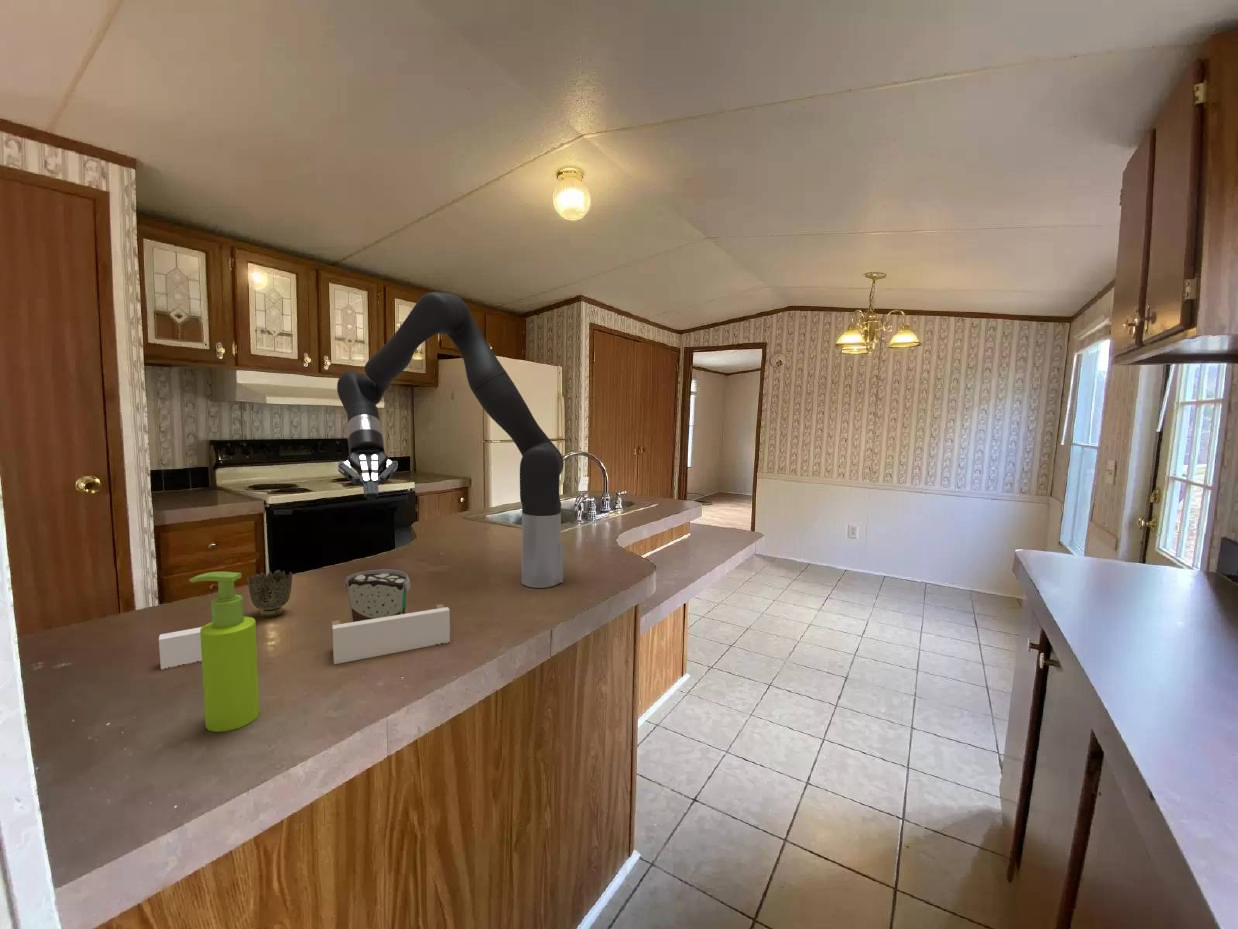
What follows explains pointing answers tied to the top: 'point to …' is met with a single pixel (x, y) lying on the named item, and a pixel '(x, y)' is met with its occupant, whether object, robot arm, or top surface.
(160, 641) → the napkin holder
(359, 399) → the robot arm
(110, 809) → the top surface
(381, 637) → the back stop bracket
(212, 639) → the soap dispenser
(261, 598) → the cup
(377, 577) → the food container
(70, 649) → the top surface
